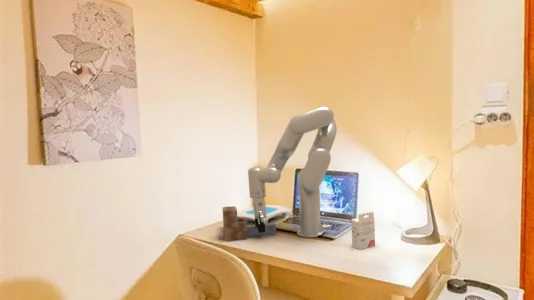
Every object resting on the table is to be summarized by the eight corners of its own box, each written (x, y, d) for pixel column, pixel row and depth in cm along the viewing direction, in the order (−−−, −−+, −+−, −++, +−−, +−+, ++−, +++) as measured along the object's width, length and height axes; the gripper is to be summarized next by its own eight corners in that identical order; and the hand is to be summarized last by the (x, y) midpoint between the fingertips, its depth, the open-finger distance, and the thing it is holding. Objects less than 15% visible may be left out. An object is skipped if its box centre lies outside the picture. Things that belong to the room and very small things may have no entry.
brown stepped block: (241, 226, 197) (240, 199, 195) (247, 239, 175) (245, 209, 174) (222, 228, 195) (220, 201, 194) (225, 241, 173) (223, 211, 172)
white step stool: (230, 225, 200) (229, 214, 199) (262, 213, 222) (262, 203, 222) (262, 231, 187) (261, 219, 187) (293, 218, 210) (292, 207, 209)
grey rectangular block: (274, 233, 183) (274, 218, 183) (276, 235, 180) (275, 220, 179) (239, 236, 180) (238, 221, 179) (240, 238, 177) (239, 223, 176)
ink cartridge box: (367, 242, 164) (366, 209, 163) (375, 246, 159) (374, 211, 158) (351, 246, 160) (350, 212, 159) (359, 250, 155) (358, 214, 154)
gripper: (268, 196, 171) (271, 233, 172) (262, 189, 187) (264, 223, 189) (252, 198, 169) (255, 235, 171) (247, 191, 186) (249, 225, 188)
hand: (260, 229), depth 180 cm, fingers open, 9 cm apart
